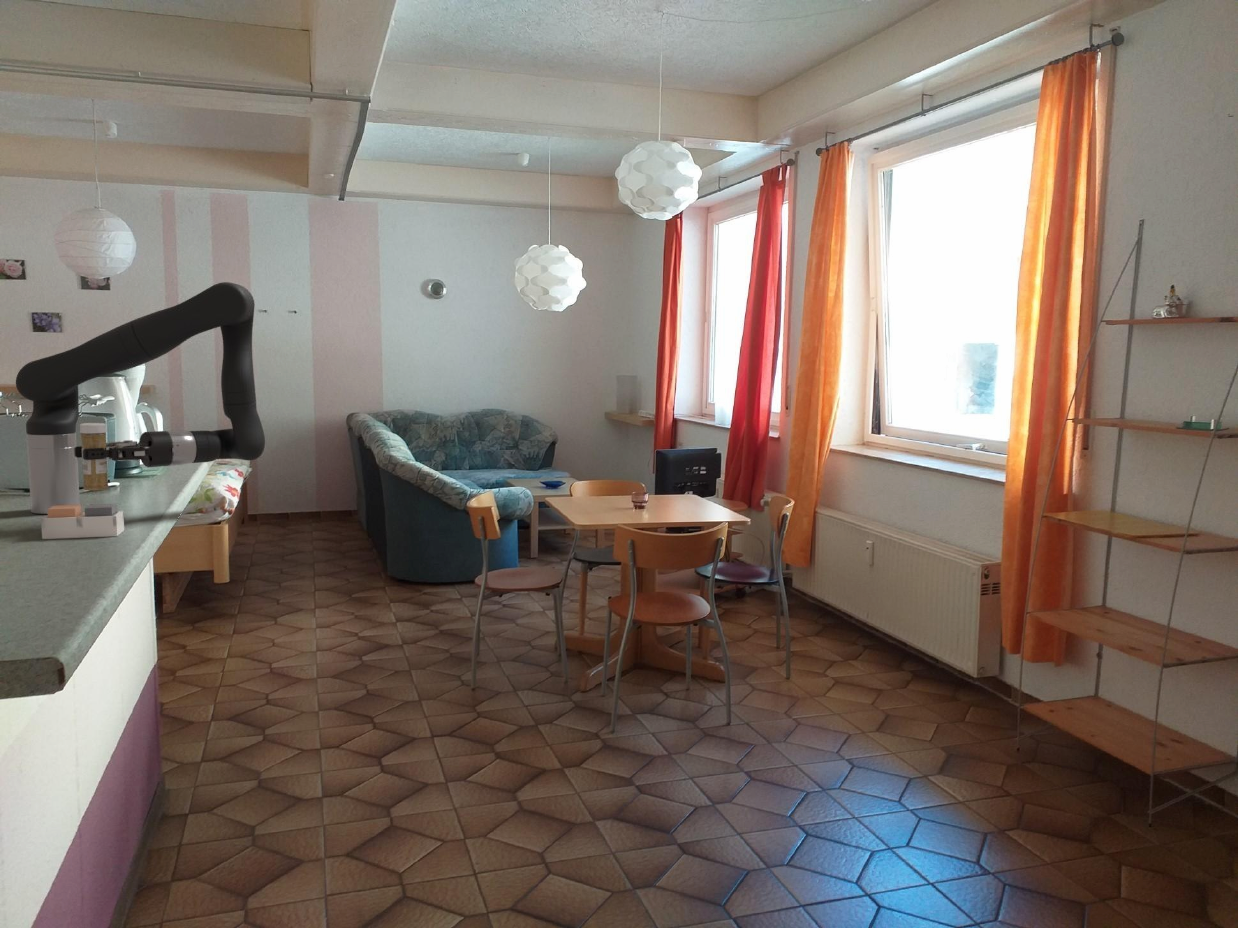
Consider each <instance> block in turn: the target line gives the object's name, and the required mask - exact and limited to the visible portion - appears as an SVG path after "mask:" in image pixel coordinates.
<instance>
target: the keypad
mask: <svg viewBox="0 0 1238 928" xmlns="http://www.w3.org/2000/svg"><path fill="white" fill-rule="evenodd" d="M124 516H125V515H124V510H117V513H116V514H115V515H114V516H92V517H85V511H82V514H81V515H79V516H78V517H61V518H48V514H47V515H44V516H43V517H41V518H40V521H41V522H40V523H41V539H42V540H51V539H52V540H54V539H77V538H78V539H79V538H80V539H81V538H101V537H104V538H106V537H118V536H119V535H120V534H121V533H123V532H124V531H125V520H124V519H125V517H124Z"/></svg>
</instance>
